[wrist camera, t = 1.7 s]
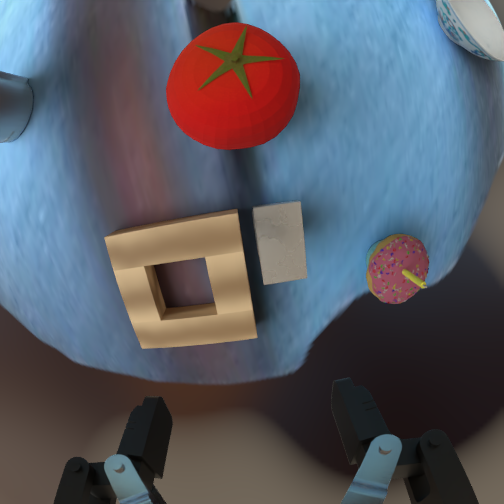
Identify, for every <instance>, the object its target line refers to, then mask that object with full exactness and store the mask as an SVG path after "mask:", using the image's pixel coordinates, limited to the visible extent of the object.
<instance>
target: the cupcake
mask: <svg viewBox="0 0 504 504" xmlns="http://www.w3.org/2000/svg"><path fill="white" fill-rule="evenodd" d="M428 258H429V256H428V255H427V252H426V250H425V247H424V245H423V243H422V242H421V241H420V240H418V239H417V238H415V237H412V236H410V235H406V234H394V235H390V236H388V237H387V238H386V239H384V240H380V241H378V242H376V243H375V244H373V245H372V246H371V248H370V249H369V251H368V253H367V256H366V265H367V273H366V279H367V282H368V287H369V289H370V291H371V292H372V293H373V294H374V295H375V296H376V297H378V298H379V300H380V301H382V302H385V303H393V304H397V303H402V302H405V301H406V300H407V299H409V298H410V297H413V295H414V294H416V293H417V291H419V289H420V288H427V286H426V283H425V282H424V281H425V279H426V277H427V273H428V269H429V268H428V267H429V259H428Z"/></svg>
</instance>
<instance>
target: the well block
mask: <svg viewBox="0 0 504 504" xmlns="http://www.w3.org/2000/svg"><path fill="white" fill-rule="evenodd" d="M104 238H105V242H106V246H107V249H108V253H109V256H110V260H111V263H112V267H113V270H114V273H115V277H116V280H117V283H118V286H119V289H120V292H121V295H122V298H123V301H124V303H125V306H126V309H127V312H128V314H129V317H130V320H131V322H132V325H133V327H134V330H135V332H136V335H137V337H138V340H139V342H140V345H141V347H142V349H143V348H163V347H178V346H190V345H201V344H212V343H221V342H229V341H238V340H245V339H253V338H257V331H256V323H255V317H254V310H253V304H252V298H251V292H250V286H249V280H248V273H247V267H246V261H245V254H244V248H243V242H242V235H241V229H240V223H239V216H238V210H237V209H231V210H225V211H219V212H213V213H207V214H201V215H195V216H189V217H184V218H178V219H173V220H167V221H162V222H157V223H151V224H146V225H141V226H136V227H131V228H127V229H122V230H117V231H114V232H112V233H111V234H109V235H108V236H106V237H104ZM202 257H205V259H206V264H207V268H208V273H209V278H210V282H211V287H212V291H213V296H214V300H215V303H209V304H201V305H192V306H184V307H175V308H166V306H165V303H164V299H163V296H162V293H161V289H160V286H159V282H158V279H157V275H156V272H155V268H154V265H156V264H162V263H169V262H176V261H182V260H189V259H195V258H202Z"/></svg>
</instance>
